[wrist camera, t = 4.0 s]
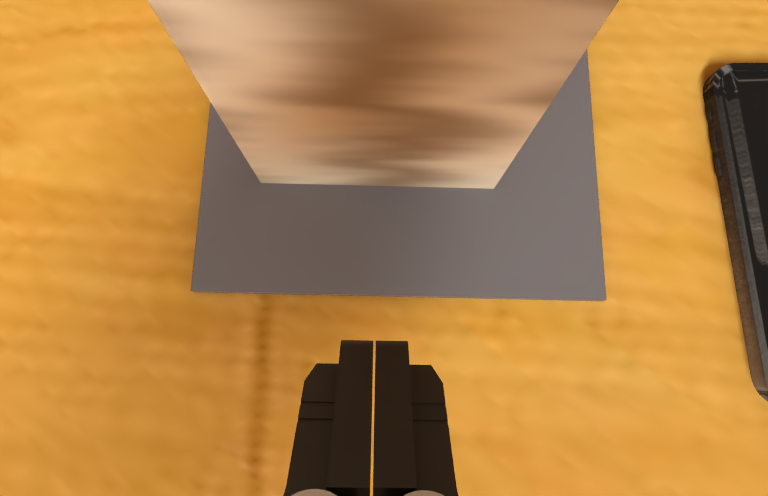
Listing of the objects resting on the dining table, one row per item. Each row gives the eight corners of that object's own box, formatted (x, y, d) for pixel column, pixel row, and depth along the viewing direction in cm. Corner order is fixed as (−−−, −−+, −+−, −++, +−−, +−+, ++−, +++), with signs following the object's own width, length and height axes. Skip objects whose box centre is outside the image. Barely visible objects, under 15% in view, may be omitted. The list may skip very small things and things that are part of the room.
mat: (571, -110, 26) (574, -117, 26) (602, 301, 22) (606, 299, 21) (236, -121, 26) (234, -128, 26) (194, 292, 21) (190, 290, 21)
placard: (492, 149, 23) (670, -181, 9) (493, 188, 22) (683, -96, 9) (263, 144, 22) (91, -201, 9) (260, 183, 22) (75, -115, 8)
